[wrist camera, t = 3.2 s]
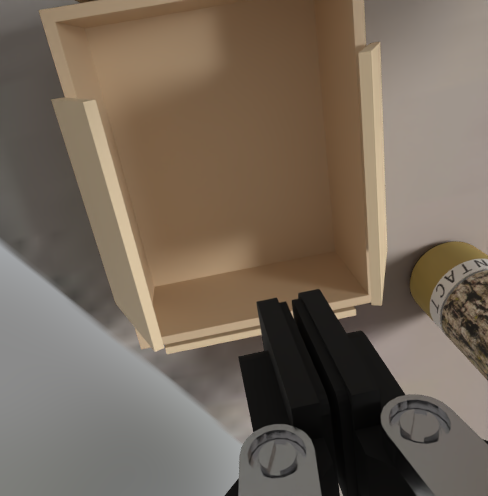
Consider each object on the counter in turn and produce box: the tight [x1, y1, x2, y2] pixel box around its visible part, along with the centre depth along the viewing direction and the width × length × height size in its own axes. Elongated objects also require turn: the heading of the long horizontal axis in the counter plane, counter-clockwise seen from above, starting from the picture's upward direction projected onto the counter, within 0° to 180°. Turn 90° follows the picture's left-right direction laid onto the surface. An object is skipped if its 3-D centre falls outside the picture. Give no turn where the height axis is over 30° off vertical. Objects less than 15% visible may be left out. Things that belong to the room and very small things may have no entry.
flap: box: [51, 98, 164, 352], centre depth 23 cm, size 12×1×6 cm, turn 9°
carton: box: [39, 0, 371, 354], centre depth 30 cm, size 22×16×8 cm
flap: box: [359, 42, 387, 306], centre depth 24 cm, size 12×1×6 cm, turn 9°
